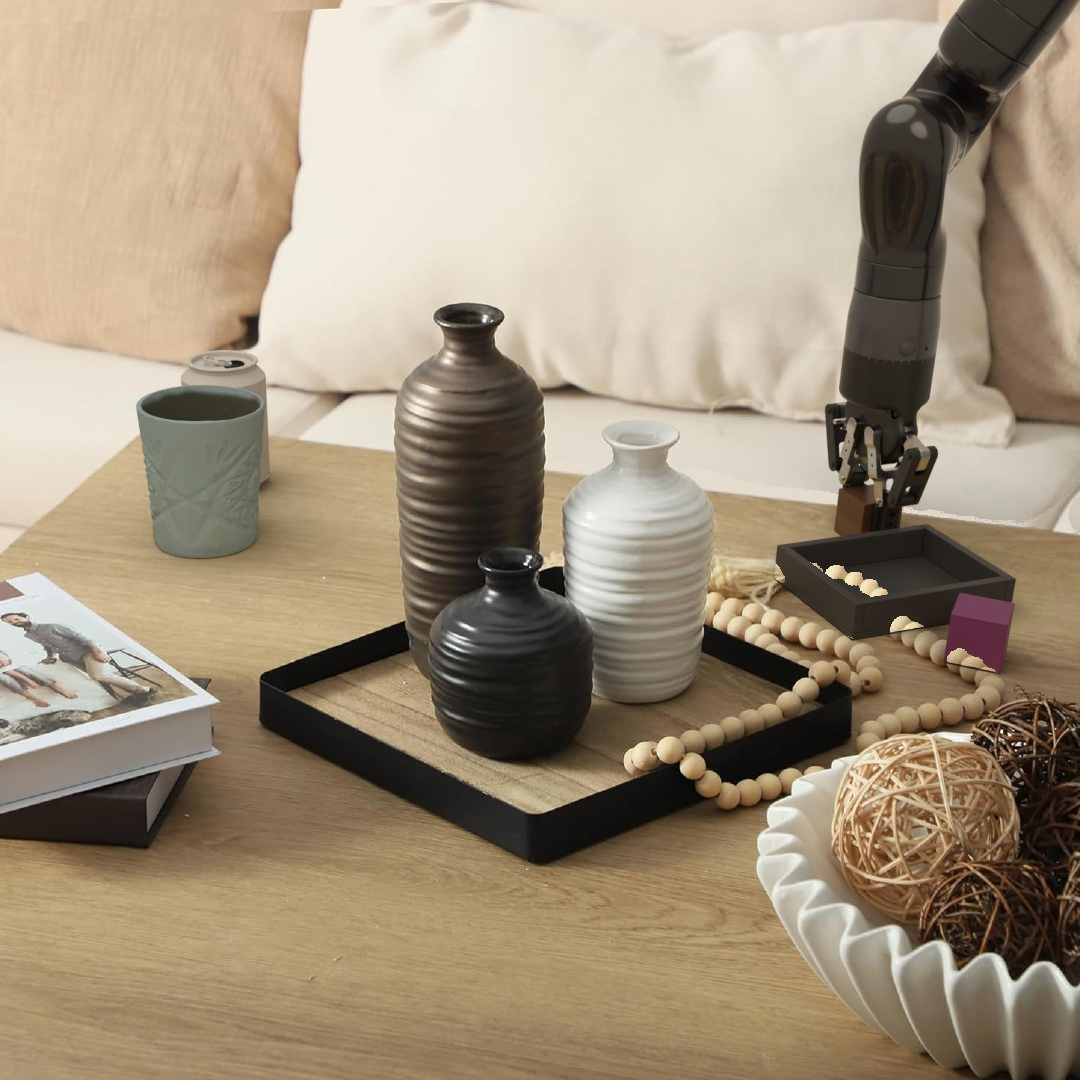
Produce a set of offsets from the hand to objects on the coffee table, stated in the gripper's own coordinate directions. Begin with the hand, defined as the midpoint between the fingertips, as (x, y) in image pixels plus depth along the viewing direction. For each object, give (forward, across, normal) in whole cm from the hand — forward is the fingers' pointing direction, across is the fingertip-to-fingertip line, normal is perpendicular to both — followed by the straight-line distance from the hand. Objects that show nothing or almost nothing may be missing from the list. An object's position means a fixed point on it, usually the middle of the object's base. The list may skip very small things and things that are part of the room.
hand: (865, 533), depth 129 cm
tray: (0, -11, +5) cm, 12 cm away
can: (0, +29, +50) cm, 58 cm away
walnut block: (0, 0, 0) cm, 0 cm away
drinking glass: (0, +17, +54) cm, 57 cm away
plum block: (0, -22, +5) cm, 23 cm away
